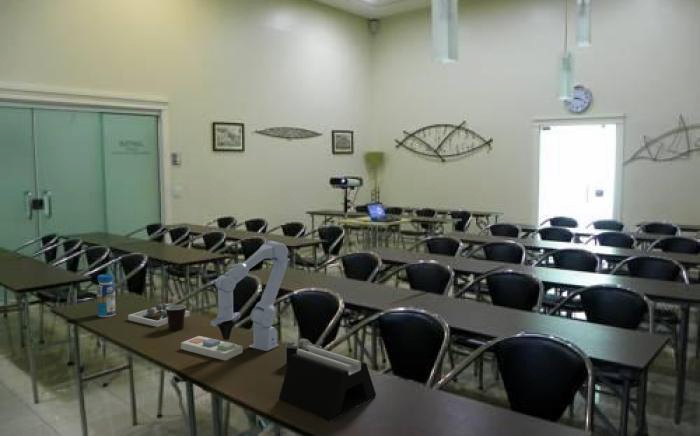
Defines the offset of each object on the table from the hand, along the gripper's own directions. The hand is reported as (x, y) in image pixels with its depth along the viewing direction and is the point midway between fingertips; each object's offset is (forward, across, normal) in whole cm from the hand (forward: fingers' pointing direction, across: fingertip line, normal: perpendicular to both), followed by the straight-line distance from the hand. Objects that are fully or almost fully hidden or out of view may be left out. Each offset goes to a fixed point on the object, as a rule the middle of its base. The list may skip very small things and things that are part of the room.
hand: (226, 339), depth 217 cm
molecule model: (+7, -21, -64) cm, 67 cm away
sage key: (+4, 0, 0) cm, 4 cm away
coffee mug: (+6, -14, -43) cm, 46 cm away
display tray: (+6, -20, -62) cm, 65 cm away
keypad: (+6, 0, -8) cm, 10 cm away
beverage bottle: (+7, -10, -88) cm, 89 cm away
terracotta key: (+5, 0, -16) cm, 17 cm away
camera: (+6, -8, +33) cm, 34 cm away
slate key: (+4, 0, -8) cm, 9 cm away
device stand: (+7, +12, +56) cm, 58 cm away
